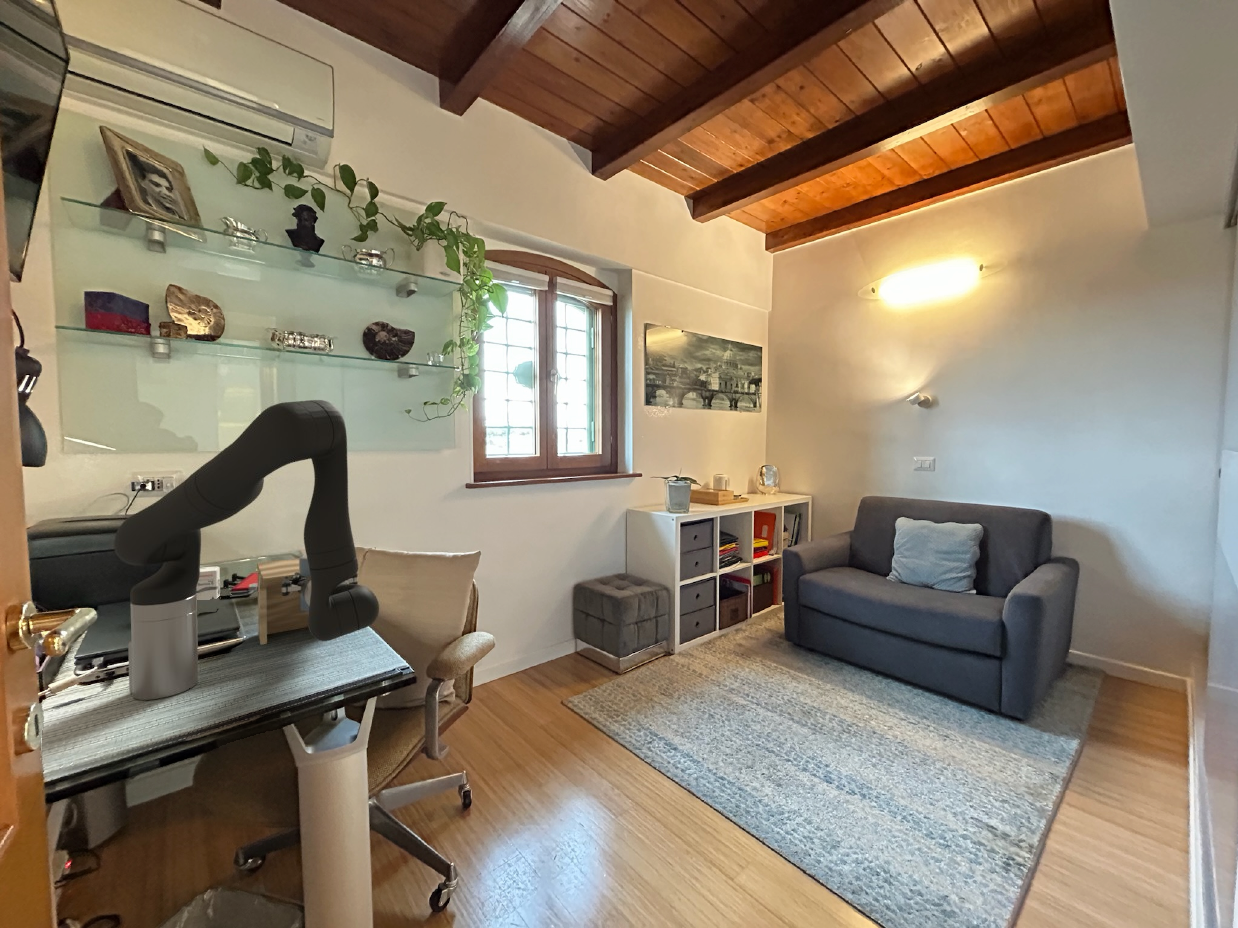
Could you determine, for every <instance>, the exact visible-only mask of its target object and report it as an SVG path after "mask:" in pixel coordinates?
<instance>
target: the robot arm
mask: <svg viewBox="0 0 1238 928" xmlns="http://www.w3.org/2000/svg"><path fill="white" fill-rule="evenodd" d="M347 438H348V437H347V428H346V422H345V420H344V417H343V414H342V413H341V412H340V410H339V408H338V407H336V406H335V405H334V404H333V403H331V402H329V401H327V400H323V399H311V400H300V401H299V400H298V401H297V400H296V401H288V402H287V401H285V402H284V401H283V402H281V403H280V402H278V403H276V404H274V405H270V406H268V407H267V408H265V409H264V410H262V411H261V412H260V414H258V415H257V416H256V418H254V420H252V422H251V423H250V424H249V425H248V426H247V427H246V428H245V430H244V431H243V432H242V433H241V434H240V435H239V436H238V437H237V438H236V439H235V440H234V441H233V442H232V443H230V444H229V445H228V446H227V447H225V448H224V449H223V450H221V451H220V452H219V453H218V454H216V455H215V456H214V457H213V458H212V459H210V460H208V461H207V462H206V463H204V464H203V465H201V466H200V467H199V468H198V469H197V470H195V471H194V472H193V473H191V474H190V475H189V476H188V477H187V478H186V479H184V480H183V482H181V483H180V484H179V485H177V486H176V487H174V488H173V489H172V490H170V491H169V492H168V493H166V494H165V495H164V496H162V497H161V498H160V499H158V500H157V501H155V502H153V503H152V504H150V505H148V506H147V507H145V508H142V510H140V511H138V512H136V513H134V514H132V515H131V516H129V517H127V518H126V519H125V520H124V521H123V522H122V523H121V524H120V525H119V527H118V528H117V531H116V534H115V535H114V541H113V549H114V552H115V554H116V556H117V558H119V559H120V560H121V561H122V562H123V563H126V564H128V565H132V566H141V567H143V566H150V565H157V564H162V566H161V568H160V569H159V570H158V571H157V572H156V573H154V574H152V575H151V576H150V577H147V578H146V579H144V580H142V581H140V582H138V583H137V584H135V585H133V587H132V588H131V590H130V593H129V594H130V596H129V597H130V600H129V601H130V627H131V628H130V633H131V634H130V635H131V640H130V641H128V644H127V645H128V680H129V681H128V687H129V688H128V692H129V693H130V694H132V697H133V699H135V700H140V701H146V700H147V701H148V700H149V701H150V700H156V699H163V698H167V697H168V698H169V697H171V696H175V695H178V694H180V693H183V692H186V691H188V690H190V689H192V688H193V687H195V686H196V685H197V684H198V682H199V667H198V666H199V665H198V664H199V654H198V648H199V647H198V644H199V643H198V642H199V641H198V614H197V594H196V593H197V584H198V581H199V576H200V568H201V554H202V553H201V550H202V532H201V529H205V528H207V527H210V526H212V525H215V524H218V523H221V522H223V521H225V520H227V519H230V518H232V517H233V516H235V515H237V514H238V513H240V512H241V511H243V510H244V509H245V508H246V507H248V506H249V505H251V504H252V503H253V502H254V501H256V499H257V498H258V497H259V495H261V493H262V491H263V489H264V484H265V483H264V482H265V478H266V477H268V476H269V475H270V474H272V473H273V472H275V471H277V470H278V469H280V468H283V467H285V466H287V465H289V464H292V463H298V462H301V461H305V460H311V463H312V466H313V473H314V476H313V477H314V482H313V483H314V484H313V492H312V497H311V501H310V504H309V507H308V510H307V514H306V518H305V521H304V527H303V528H304V529H303V544H304V550H305V555H307V560H308V564H309V569H310V575H308V574H304V575H300V574H299V572H296V573H295V575H291V579H290V577H285V578H283V580H282V596H287V595H289V594H291V593H292V591H298V592H299V593H302V595H303V597H304V599H305V601H306V603H307V604H308V605H309V613H308V627H307V628H308V630H309V633H310V634H311V636H313V637H314V638H315V639H316V640H318V641H320V642H329V641H332V640H335V639H338V638H340V637H344V636H346V635H349V634H352V633H355V632H357V631H361V630H363V629H365V628H366V629H367V628H368V627H371V625H373V624H374V623H375V621H376V620H377V618H378V616H379V613H380V604H379V600H378V598H377V596H376V595H375V593H374V592H373V591H372V590H371V589H370V588H368V587H367V586H365V585H361V584H358V583H359V582H358V581H359V580H358V579H359V578H358V575H359V574H358V571H359V562H358V557H357V551H356V546H355V543H354V538H353V531H352V525H351V520H350V519H351V518H350V509H349V478H348V477H349V475H348V474H349V472H348V470H349V468H348V439H347ZM189 688H190V689H189Z"/></svg>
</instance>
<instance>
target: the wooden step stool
mask: <svg viewBox="0 0 1238 928" xmlns="http://www.w3.org/2000/svg"><path fill="white" fill-rule="evenodd" d="M256 564H257V565H256V569H257V572H256V573H257V582H258V590H257V635H258V640H259V642H260V643H259V644H260V645H264V644H265V645H266V644H268V636H267V635H271V634H276V633H282V632H288V631H293V630H298V629H303V628H304V629H305V628H309V627H308V613H309V611H302V610H300V593H299V592H298V591H292V593H291V594H289V595H287V596H282V580H283V578H285V577H290V579H291V575H295V573H296V572H299V557H298V558H288V559H281V560H280V559H279V560H271V561H270V560H269V561H261V562H260V561H259V562H257V563H256Z"/></svg>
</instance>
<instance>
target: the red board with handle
mask: <svg viewBox="0 0 1238 928" xmlns="http://www.w3.org/2000/svg"><path fill="white" fill-rule="evenodd" d="M238 580H240V582H238ZM222 582H223V584H222V586H223V587H226V588H225V589H228V588H229V587H230V586H231V587H232V588H231V590H230V591H231V594H232V596H231V597H240V596H243V597H244V596H250V595H252V594H253V592H258V582H257V572H251V573H250V574H249V575H247V576H241V575H238V573H232V574H231V581H230V579H229V578H225V579H224V580H222ZM223 587H222V588H223Z"/></svg>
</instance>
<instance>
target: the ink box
mask: <svg viewBox="0 0 1238 928" xmlns="http://www.w3.org/2000/svg"><path fill="white" fill-rule="evenodd" d="M220 569H221V567H220V566H205V567H203V566H202V567H200V576H199V581H198V584H197V593H196V594H197V600H210V599H217V598H218V597H219V596H220V593H221V579H220V578H221V574H220V571H221V570H220Z"/></svg>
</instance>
